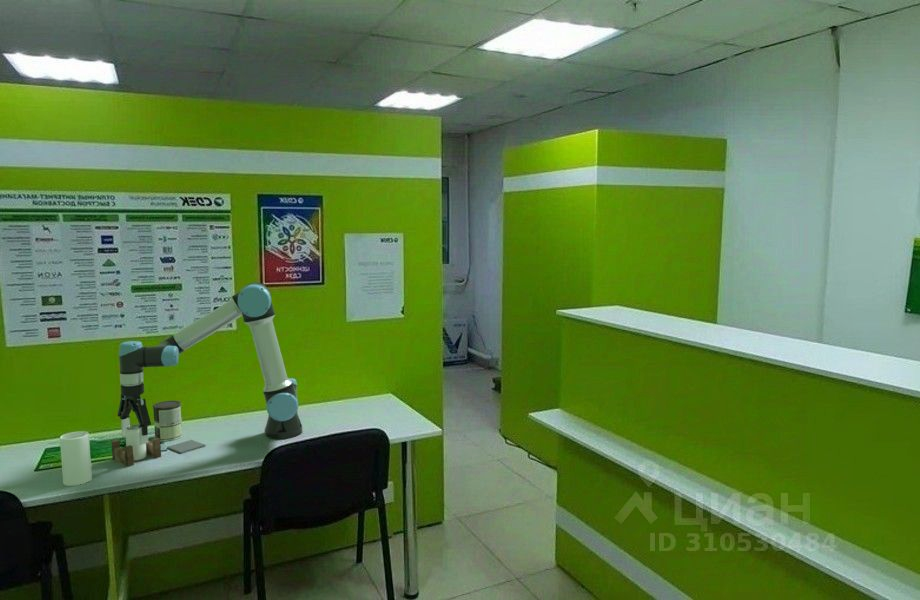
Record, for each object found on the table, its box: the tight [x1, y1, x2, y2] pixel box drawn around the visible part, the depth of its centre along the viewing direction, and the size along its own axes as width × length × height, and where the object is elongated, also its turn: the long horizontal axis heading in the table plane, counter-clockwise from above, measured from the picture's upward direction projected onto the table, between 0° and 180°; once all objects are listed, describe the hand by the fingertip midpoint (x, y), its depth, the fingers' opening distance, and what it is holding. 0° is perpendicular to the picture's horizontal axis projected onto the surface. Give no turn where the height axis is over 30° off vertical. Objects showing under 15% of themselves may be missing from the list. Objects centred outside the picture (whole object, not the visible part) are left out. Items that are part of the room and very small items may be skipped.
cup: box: [59, 430, 93, 487], centre depth 203 cm, size 8×8×16 cm
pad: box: [166, 439, 206, 454], centre depth 235 cm, size 10×10×1 cm
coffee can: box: [152, 400, 183, 442], centre depth 246 cm, size 10×10×14 cm
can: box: [125, 424, 148, 462], centre depth 224 cm, size 6×6×12 cm
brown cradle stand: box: [110, 437, 162, 467], centre depth 224 cm, size 12×12×7 cm
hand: (134, 439), depth 223 cm, fingers open, 13 cm apart
